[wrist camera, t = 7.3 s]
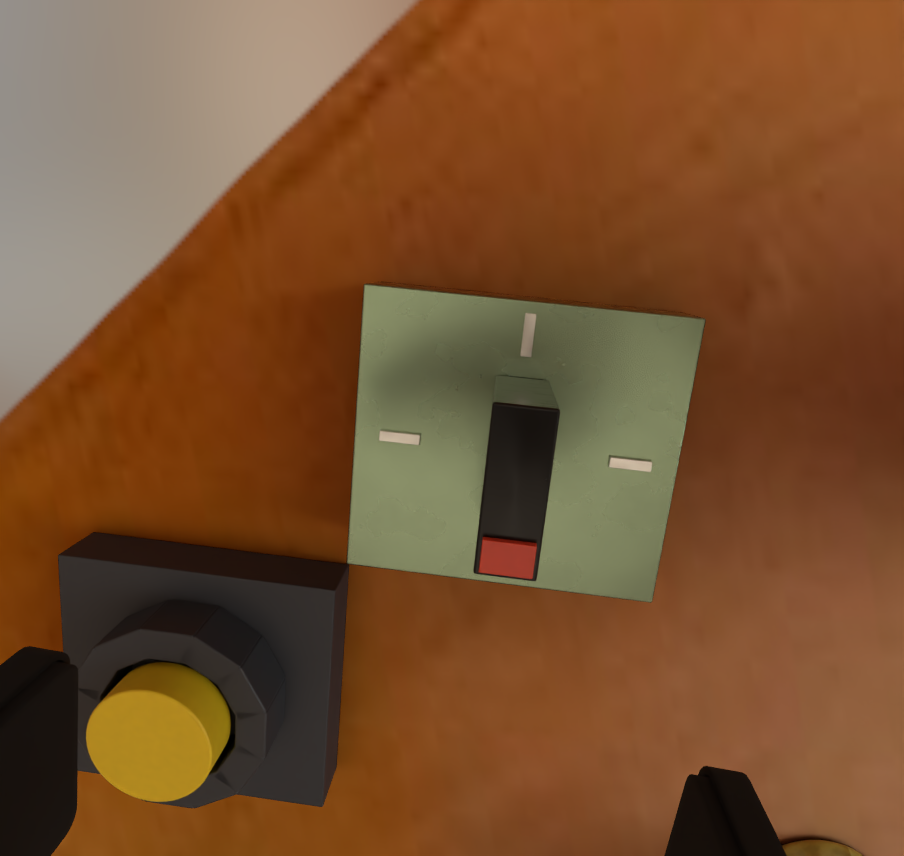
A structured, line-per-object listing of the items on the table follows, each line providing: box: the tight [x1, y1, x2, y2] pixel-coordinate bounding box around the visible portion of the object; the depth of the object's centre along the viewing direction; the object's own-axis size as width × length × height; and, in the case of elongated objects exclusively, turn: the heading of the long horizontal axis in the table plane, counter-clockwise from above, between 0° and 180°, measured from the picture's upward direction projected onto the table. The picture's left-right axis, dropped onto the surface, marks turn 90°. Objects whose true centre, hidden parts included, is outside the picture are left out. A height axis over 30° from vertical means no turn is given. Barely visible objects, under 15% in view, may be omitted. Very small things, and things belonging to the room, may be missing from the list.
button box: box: [58, 532, 349, 808], centre depth 26 cm, size 11×10×4 cm
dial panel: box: [347, 282, 706, 602], centre depth 24 cm, size 11×10×3 cm
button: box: [86, 662, 231, 802], centre depth 24 cm, size 5×5×2 cm
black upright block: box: [473, 375, 560, 581], centre depth 20 cm, size 5×2×5 cm, turn 175°
